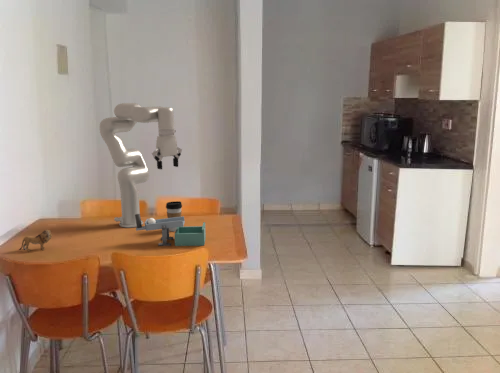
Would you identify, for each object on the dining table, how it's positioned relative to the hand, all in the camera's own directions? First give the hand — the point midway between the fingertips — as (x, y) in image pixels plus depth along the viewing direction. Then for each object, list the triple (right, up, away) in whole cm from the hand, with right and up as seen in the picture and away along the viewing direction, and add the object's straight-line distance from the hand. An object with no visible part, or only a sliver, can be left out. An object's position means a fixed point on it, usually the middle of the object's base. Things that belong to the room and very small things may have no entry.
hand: (168, 167), depth 235 cm
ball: (-7, -26, -5) cm, 28 cm away
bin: (+11, -36, -2) cm, 38 cm away
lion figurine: (-59, -39, -12) cm, 72 cm away
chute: (-3, -29, -4) cm, 29 cm away
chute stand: (-1, -36, -2) cm, 37 cm away
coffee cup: (+1, -32, +17) cm, 37 cm away
